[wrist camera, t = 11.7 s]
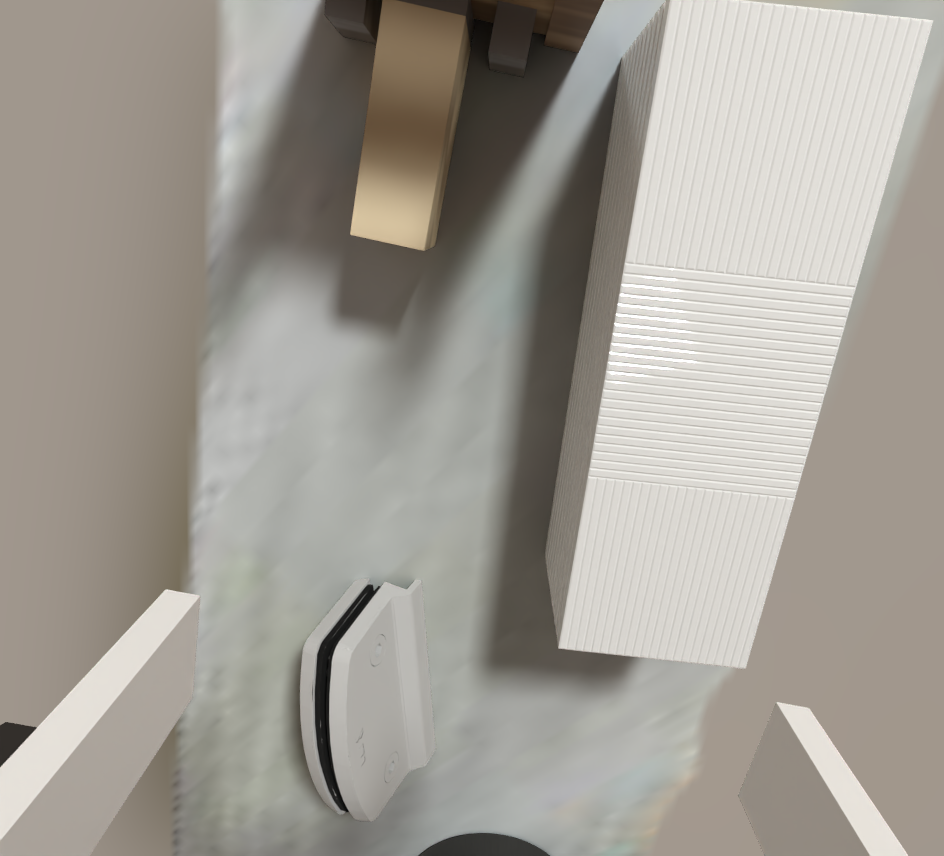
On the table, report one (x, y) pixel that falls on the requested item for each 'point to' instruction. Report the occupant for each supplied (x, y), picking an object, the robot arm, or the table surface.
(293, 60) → the table surface
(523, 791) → the table surface
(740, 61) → the white ribbed block
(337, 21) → the wooden cleated plank
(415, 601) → the white rounded block
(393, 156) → the tan wooden block
